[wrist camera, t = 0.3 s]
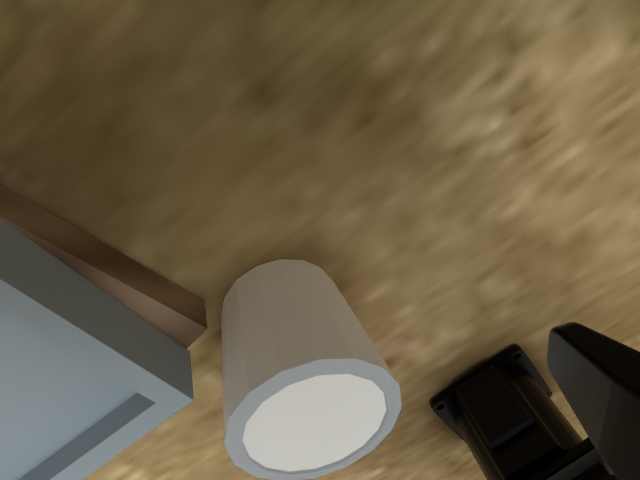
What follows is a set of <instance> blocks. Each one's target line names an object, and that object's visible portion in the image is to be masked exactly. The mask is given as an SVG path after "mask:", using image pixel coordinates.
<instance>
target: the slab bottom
mask: <svg viewBox="0 0 640 480" xmlns="http://www.w3.org/2000/svg"><path fill="white" fill-rule="evenodd" d="M0 219H2V220H3V221H4V222H6V223H7V224H9V225H10V226H12V227H13V228H14V229H16V230H17V231H19V232H20V233H22V234H23V235H24V236H26V237H27V238H29V239H30V240H32V241H33V242H34V243H36V244H37V245H39V246H40V247H42V248H43V249H44V250H46V251H47V252H49V253H50V254H52V255H53V256H54V257H56V258H57V259H59V260H60V261H62V262H63V263H64V264H66V265H67V266H69V267H70V268H72V269H73V270H74V271H76V272H77V273H79V274H80V275H82V276H83V277H84V278H86V279H87V280H89V281H90V282H92V283H93V284H94V285H96V286H97V287H99V288H100V289H102V290H103V291H104V292H106V293H107V294H109V295H110V296H112V297H113V298H114V299H116V300H117V301H119V302H120V303H122V304H123V305H124V306H126V307H127V308H129V309H130V310H132V311H133V312H134V313H136V314H137V315H139V316H140V317H142V318H143V319H144V320H146V321H147V322H149V323H150V324H152V325H153V326H154V327H156V328H157V329H159V330H160V331H162V332H163V333H164V334H166V335H167V336H169V337H170V338H172V339H173V340H175V341H176V342H177V343H179V344H180V345H182V346H183V347H185V348H186V349H187V348H188V347H189V346H190V345H191V344H192V343H193V342H194V341H195V340H196V339H197V338H198V337H199V336H200V335H201V334H202V333H203V332H204V331H205V330H207V321H206V313H205V305H204V301H203V300H201V299H200V298H198V297H196V296H194V295H193V294H191V293H189V292H187V291H186V290H184V289H182V288H180V287H179V286H177V285H175V284H173V283H172V282H170V281H168V280H166V279H165V278H163V277H161V276H160V275H158V274H156V273H154V272H153V271H151V270H149V269H147V268H146V267H144V266H142V265H140V264H139V263H137V262H135V261H133V260H132V259H130V258H128V257H126V256H125V255H123V254H121V253H120V252H118V251H116V250H114V249H113V248H111V247H109V246H107V245H106V244H104V243H102V242H100V241H99V240H97V239H95V238H93V237H92V236H90V235H88V234H86V233H85V232H83V231H81V230H80V229H78V228H76V227H74V226H73V225H71V224H69V223H67V222H66V221H64V220H62V219H60V218H59V217H57V216H55V215H53V214H52V213H50V212H48V211H46V210H45V209H43V208H41V207H40V206H38V205H36V204H34V203H33V202H31V201H29V200H27V199H26V198H24V197H22V196H20V195H19V194H17V193H15V192H13V191H12V190H10V189H8V188H7V187H5V186H3V185H1V184H0Z"/></svg>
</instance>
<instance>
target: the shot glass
mask: <svg viewBox="0 0 640 480" xmlns="http://www.w3.org/2000/svg"><path fill="white" fill-rule="evenodd" d="M221 332H222V377H223V421H224V445H225V447H226V449H227V451H228V453H229V455H230V457H231V460H232V462H233V464H234V465H236V466H237V467H239V468H241V469H242V470H244V471H246V472H247V473H249V474H251V475H252V476H254V477H257V478H263V479H269V480H303V479H312V478H317V477H320V476H322V475H325V474H328V473H331V472H334V471H337V470H339V469H342V468H345V467H347V466H349V465H350V464H352V463H353V462H355V461H357V460H358V459H360V458H361V457H363V456H365V455H366V454H368V453H369V452H371V451H373V450H374V449H375V447H376V446H377V445H378V444H379V443H380V442H381V441H382V440H383V439H384V438H385V437H386V436H387V435H388V434H389V433H390V431H391V430H392V429H393V427H394V424H395V422H396V420H397V417H398V415H399V413H400V410H401V408H402V403H401V395H400V386H399V384H398V382H397V380H396V379H395V377H394V376H393V374H392V373H391V371H390V369H389V368H388V366H387V365H386V363H385V362H384V360H383V358H382V357H381V355H380V354H379V352H378V351H377V349H376V347H375V346H374V344H373V343H372V341H371V340H370V338H369V336H368V335H367V333H366V332H365V330H364V329H363V327H362V326H361V324H360V322H359V321H358V319H357V318H356V316H355V315H354V313H353V311H352V310H351V308H350V307H349V305H348V304H347V302H346V300H345V299H344V297H343V296H342V294H341V293H340V291H339V289H338V288H337V286H336V285H335V283H334V282H333V280H332V279H331V278H330V277H329V276H328V275H327V273H326V272H325V271H324V270H323V269H322V268H321V267H318V266H316V265H314V264H311V263H309V262H307V261H304V260H293V259H278V260H275V261H271V262H268V263H265V264H261V265H258V266H255V267H254V268H252V269H251V270H249V271H248V272H247V273H245V274H244V275H242V276H241V277H239V278H238V279H237V280H236V281H235V282H234V284H233V285H232V287H231V288H230V289H229V291H228V292H227V294H226V295H225V297H224V301H223V307H222V314H221Z"/></svg>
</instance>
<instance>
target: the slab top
mask: <svg viewBox="0 0 640 480" xmlns="http://www.w3.org/2000/svg"><path fill="white" fill-rule="evenodd" d="M193 400H194V398H193V385H192V372H191V359H190V351H189V350H187V349H186V348H185V347H183V346H182V345H180V344H179V343H177V342H176V341H175V340H173V339H172V338H170V337H169V336H167V335H166V334H164V333H163V332H162V331H160V330H159V329H157V328H156V327H154V326H153V325H152V324H150V323H149V322H147V321H146V320H144V319H143V318H142V317H140V316H139V315H137V314H136V313H134V312H133V311H132V310H130V309H129V308H127V307H126V306H124V305H123V304H122V303H120V302H119V301H117V300H116V299H114V298H113V297H112V296H110V295H109V294H107V293H106V292H104V291H103V290H102V289H100V288H99V287H97V286H96V285H94V284H93V283H92V282H90V281H89V280H87V279H86V278H84V277H83V276H82V275H80V274H79V273H77V272H76V271H74V270H73V269H72V268H70V267H69V266H67V265H66V264H64V263H63V262H62V261H60V260H59V259H57V258H56V257H54V256H53V255H52V254H50V253H49V252H47V251H46V250H44V249H43V248H42V247H40V246H39V245H37V244H36V243H34V242H33V241H32V240H30V239H29V238H27V237H26V236H24V235H23V234H22V233H20V232H19V231H17V230H16V229H14V228H13V227H12V226H10V225H9V224H7V223H6V222H4V221H3V220H2V219H0V480H82V479H84V478H85V477H87V476H88V475H89V474H91V473H92V472H94V471H95V470H96V469H98V468H99V467H101V466H102V465H103V464H105V463H106V462H108V461H109V460H110V459H112V458H113V457H115V456H116V455H117V454H119V453H120V452H122V451H123V450H124V449H126V448H127V447H129V446H130V445H131V444H133V443H134V442H136V441H137V440H138V439H140V438H141V437H143V436H144V435H145V434H147V433H148V432H150V431H151V430H152V429H154V428H155V427H157V426H158V425H159V424H161V423H162V422H164V421H165V420H166V419H168V418H169V417H171V416H172V415H173V414H175V413H176V412H178V411H179V410H180V409H182V408H183V407H185V406H186V405H187V404H189V403H190V402H192V401H193Z"/></svg>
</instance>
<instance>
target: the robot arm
mask: <svg viewBox="0 0 640 480" xmlns="http://www.w3.org/2000/svg"><path fill="white" fill-rule="evenodd" d="M547 364H548V368H549V370H550V372H551V374H552V376H553V378H554V379H555V381H556V383H557V384H558V386H559V388H560V389H561V391H562V393H563V394H564V396H565V398H566V399H567V401H568V403H569V405H570V406H571V408H572V410H573V411H574V413H575V415H576V416H577V418H578V420H579V421H580V423H581V425H582V426H583V428H584V430H585V432H586V433H587V435H588V438H586V439H585V440H582V438H581V437H580V436H579V435H578V433H577V432H576V431H575V429H574V428H573V427H572V426H571V424H570V423H569V422H568V420H567V419H566V418H565V417H564V415H563V414H562V413H561V412H560V410H559V409H558V408H557V406H556V405H555V404H554V403H553V401H552V400H551V399H550V397H551V395H552V392H551V390H550V389H549V387H548V386H547V384H546V383H545V382H544V380H543V379H542V377H541V376H540V374H539V373H538V371H537V370H536V368H535V367H534V365H533V364H532V362H531V361H530V359H529V358H528V357H527V355H526V354H525V352H524V351H523V350H522V348H521V347H520V346H513V347H511V348H510V349H508V350H507V351H505V352H504V353H502V354H501V355H499V356H498V357H496V358H495V359H493V360H492V361H490V362H489V363H487V364H486V365H484V366H483V367H481V368H480V369H478V370H477V371H475V372H474V373H472V374H471V375H469V376H468V377H466V378H465V379H463V380H462V381H460V382H459V383H457V384H456V385H454V386H453V387H451V388H450V389H448V390H446V391H445V392H443V393H442V394H440V395H439V396H437V397H436V398H434V399H433V400H432V401H431V404H430V405H431V407H432V409H433V411H434V412H435V413H436V414H437V415H438V416H439V417H440V418H441V419H442V420H443V421H444V422H445V423H446V424H447V425H448V426H449V427H450V428H451V429H452V430H453V431H454V432H455V433H456V434H458V435H459V436H460V437H461V438H462V439H463V440H464V441H465V442H466V443H467V445H468V447H469V448H470V450H471V452H472V454H473V455H474V457H475V459H476V461H477V463H478V464H479V466H480V468H481V470H482V471H483V473H484V475H485V477H486V478H487V480H640V352H639V351H637V350H635V349H633V348H630V347H628V346H626V345H624V344H622V343H620V342H618V341H615V340H613V339H611V338H609V337H607V336H605V335H603V334H600V333H598V332H596V331H594V330H592V329H590V328H588V327H585V326H583V325H581V324H579V323H575V322H569V323H566V324H563V325H560V326H557V327H554V328H552V330H551V331H550V334H549V343H548V353H547Z"/></svg>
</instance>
